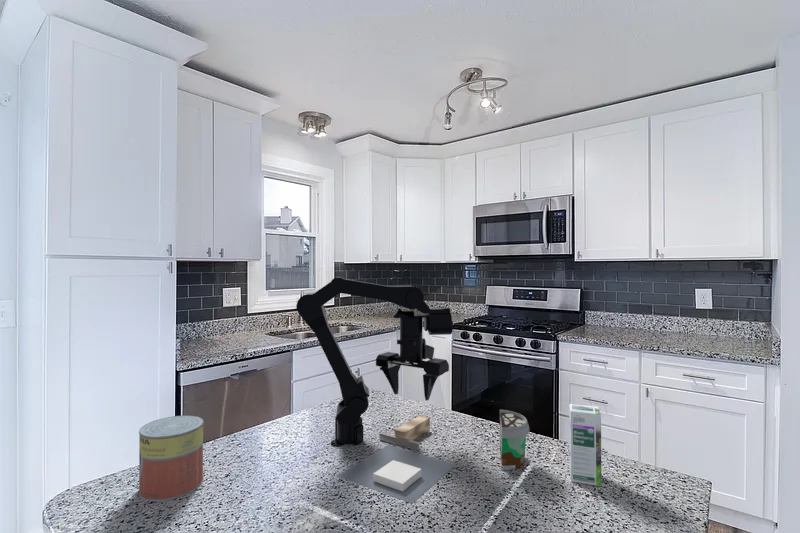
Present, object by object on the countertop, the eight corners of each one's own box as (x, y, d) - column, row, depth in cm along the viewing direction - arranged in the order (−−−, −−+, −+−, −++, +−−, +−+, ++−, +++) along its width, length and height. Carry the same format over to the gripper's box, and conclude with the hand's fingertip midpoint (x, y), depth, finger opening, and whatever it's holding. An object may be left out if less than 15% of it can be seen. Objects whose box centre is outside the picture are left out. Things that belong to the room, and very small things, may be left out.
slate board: (337, 479, 84) (337, 475, 84) (388, 448, 99) (388, 444, 99) (412, 508, 74) (412, 503, 74) (456, 468, 89) (456, 464, 89)
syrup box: (570, 482, 83) (570, 410, 84) (569, 469, 89) (569, 402, 89) (601, 487, 81) (601, 414, 82) (598, 473, 87) (598, 405, 87)
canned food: (144, 478, 85) (144, 419, 85) (204, 467, 90) (204, 412, 90) (133, 507, 75) (133, 440, 75) (202, 493, 79) (202, 431, 79)
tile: (393, 467, 88) (373, 481, 82) (393, 460, 88) (373, 473, 82) (421, 477, 84) (402, 492, 78) (421, 468, 84) (402, 483, 78)
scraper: (407, 427, 113) (407, 412, 113) (443, 436, 107) (443, 420, 107) (379, 443, 102) (379, 427, 102) (417, 454, 96) (417, 437, 96)
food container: (532, 479, 85) (532, 430, 85) (501, 476, 86) (501, 428, 86) (526, 453, 97) (526, 410, 97) (499, 450, 98) (499, 408, 98)
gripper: (458, 334, 106) (458, 395, 106) (398, 328, 116) (398, 384, 116) (437, 340, 97) (438, 407, 96) (374, 333, 107) (374, 394, 107)
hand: (411, 397), depth 104 cm, fingers open, 9 cm apart
